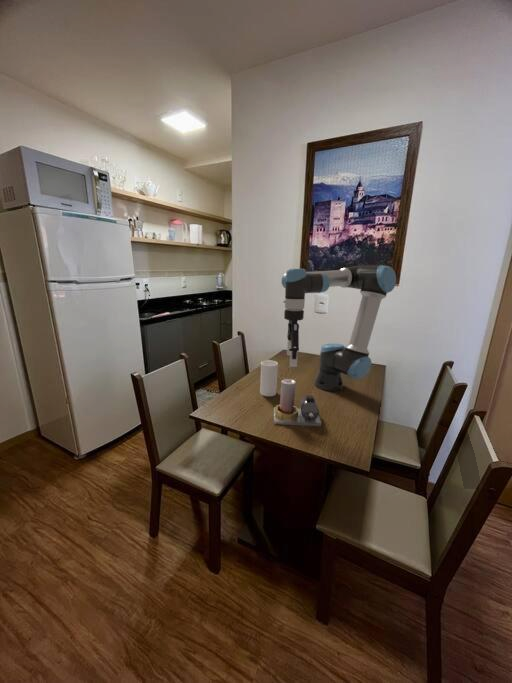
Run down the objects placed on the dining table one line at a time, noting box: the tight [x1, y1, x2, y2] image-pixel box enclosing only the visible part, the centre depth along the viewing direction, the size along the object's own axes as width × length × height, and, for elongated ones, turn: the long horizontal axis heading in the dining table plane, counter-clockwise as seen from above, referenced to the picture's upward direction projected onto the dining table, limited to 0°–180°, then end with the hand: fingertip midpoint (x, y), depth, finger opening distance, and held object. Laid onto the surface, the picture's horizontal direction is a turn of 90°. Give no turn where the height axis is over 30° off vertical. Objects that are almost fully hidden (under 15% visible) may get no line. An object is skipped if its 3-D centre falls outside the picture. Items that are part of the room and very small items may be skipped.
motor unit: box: [273, 395, 322, 427], centre depth 115 cm, size 19×12×10 cm, turn 87°
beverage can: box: [279, 378, 297, 414], centre depth 115 cm, size 6×6×15 cm
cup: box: [259, 359, 279, 397], centre depth 138 cm, size 8×8×16 cm
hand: (291, 360), depth 114 cm, fingers open, 13 cm apart
